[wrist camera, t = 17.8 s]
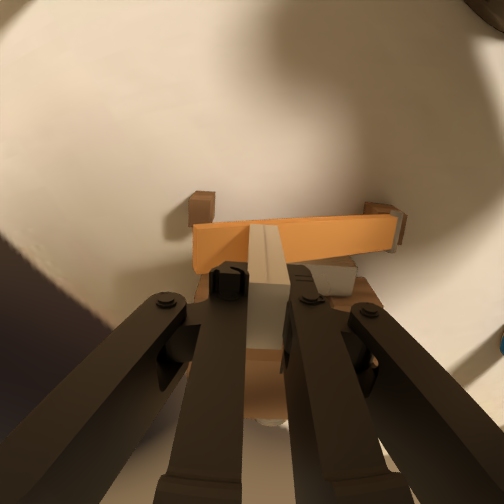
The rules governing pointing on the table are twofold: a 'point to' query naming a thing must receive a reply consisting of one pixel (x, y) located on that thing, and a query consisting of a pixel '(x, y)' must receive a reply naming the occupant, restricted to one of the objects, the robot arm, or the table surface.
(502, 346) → the beverage can
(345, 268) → the pin
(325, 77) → the table surface
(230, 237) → the bar
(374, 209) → the hitch block
